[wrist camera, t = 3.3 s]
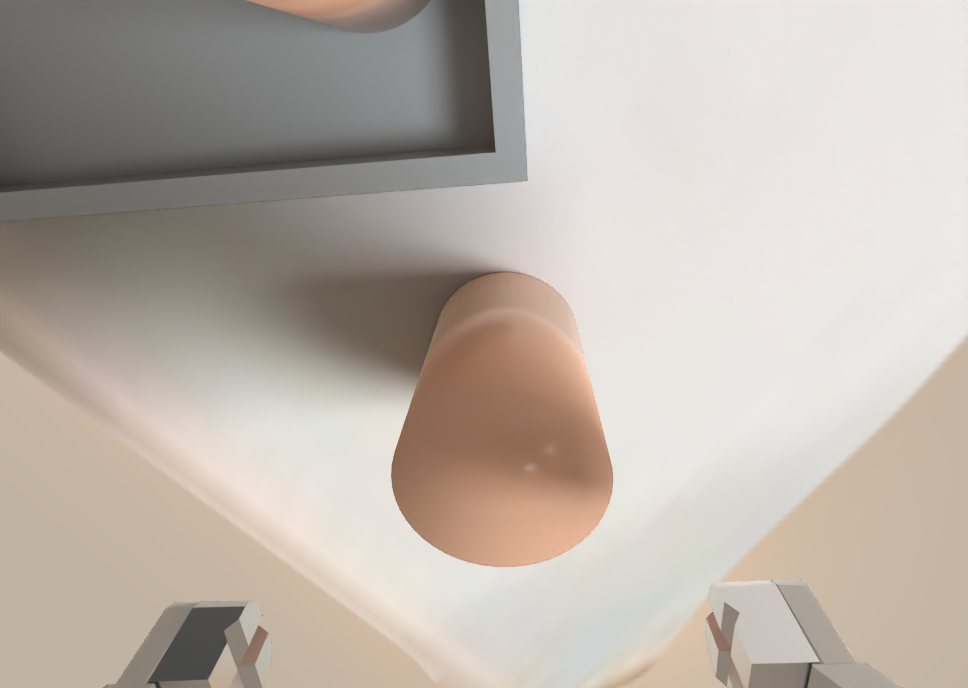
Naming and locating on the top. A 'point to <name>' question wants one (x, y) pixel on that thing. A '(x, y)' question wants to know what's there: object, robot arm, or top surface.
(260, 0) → the peach glossy rounded part
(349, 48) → the tray
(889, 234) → the top surface
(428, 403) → the peach rounded capsule
